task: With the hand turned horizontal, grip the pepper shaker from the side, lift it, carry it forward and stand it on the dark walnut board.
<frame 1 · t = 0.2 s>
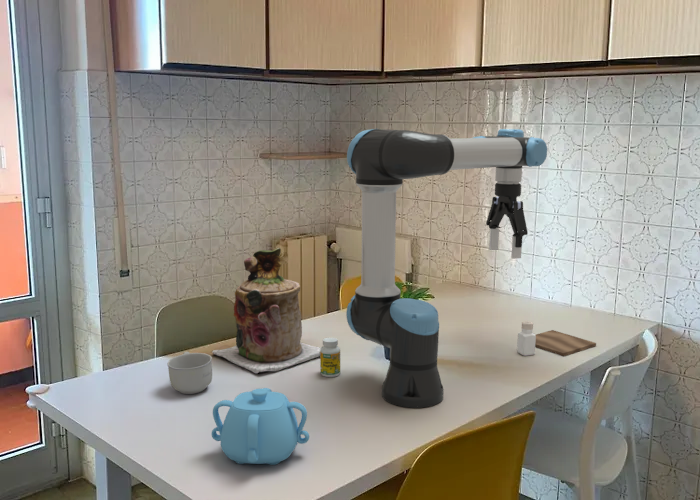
hand: (504, 253, 203), 28 cm above the table, tool pointing down, fingers open, 13 cm apart
cookie jar: (269, 356, 197), on the table
decorative pot: (260, 454, 139), on the table
supplement bottle: (330, 374, 183), on the table
board: (557, 344, 209), on the table
teacup: (191, 387, 173), on the table
pepper shaker: (525, 354, 200), on the table
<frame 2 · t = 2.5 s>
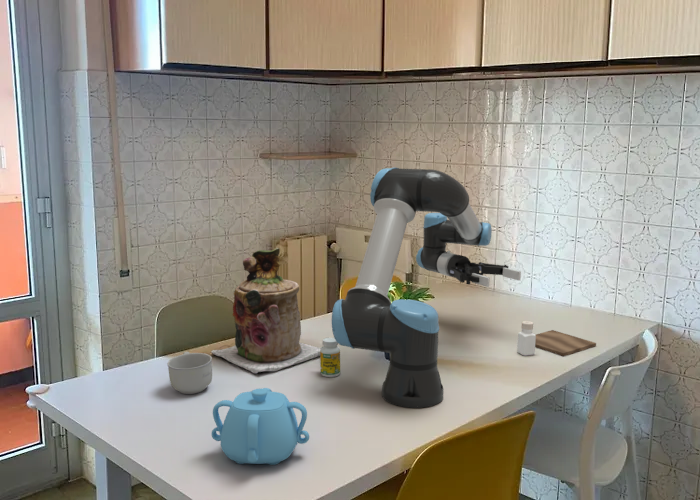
hand: (504, 279, 203), 21 cm above the table, tool horizontal, fingers open, 13 cm apart
nothing on the table moved.
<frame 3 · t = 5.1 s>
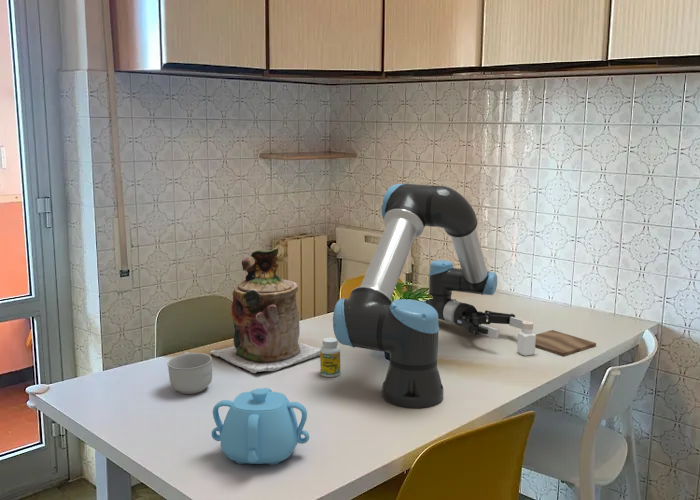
hand: (512, 330, 203), 6 cm above the table, tool horizontal, fingers open, 13 cm apart
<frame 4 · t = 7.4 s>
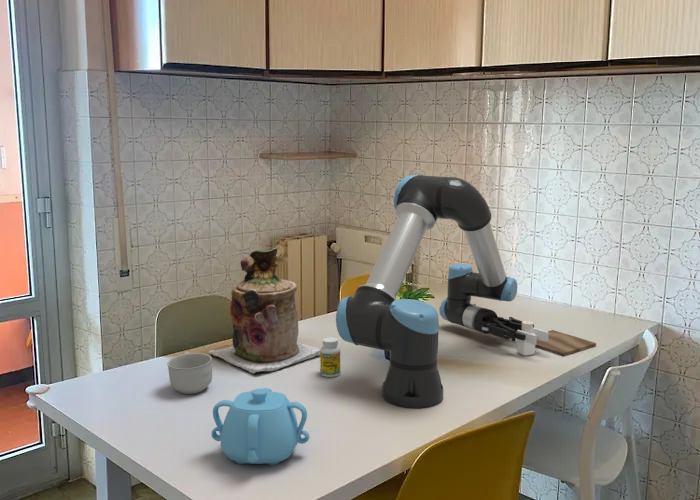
hand: (541, 338, 195), 6 cm above the table, tool horizontal, fingers closed on pepper shaker, 5 cm apart
pepper shaker: (525, 354, 200), on the table, touching gripper
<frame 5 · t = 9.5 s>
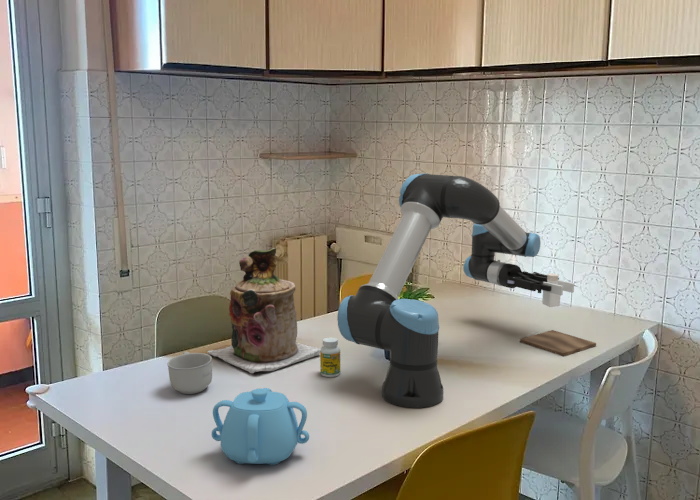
hand: (567, 289, 199), 19 cm above the table, tool horizontal, fingers closed on pepper shaker, 5 cm apart
pepper shaker: (550, 306, 204), point 13 cm above the table, touching gripper
when the fingers open (8 cm above the table, at t = 11.9 s): pepper shaker drops 1 cm, resting on board.
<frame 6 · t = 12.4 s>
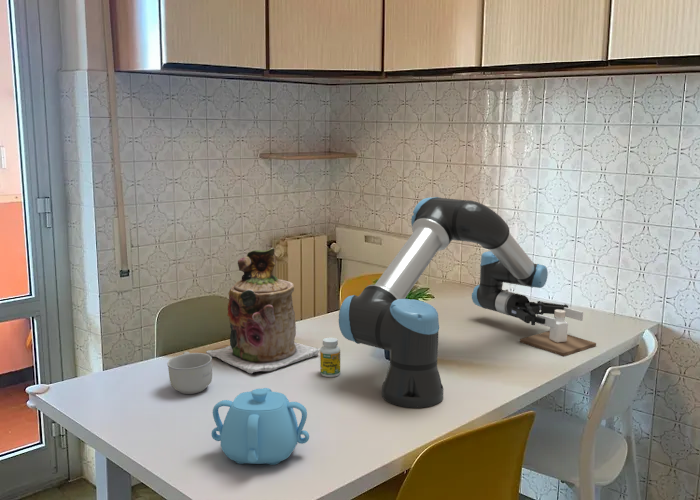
hand: (569, 320, 205), 8 cm above the table, tool horizontal, fingers open, 12 cm apart
pepper shaker: (557, 341, 209), point 1 cm above the table, touching board
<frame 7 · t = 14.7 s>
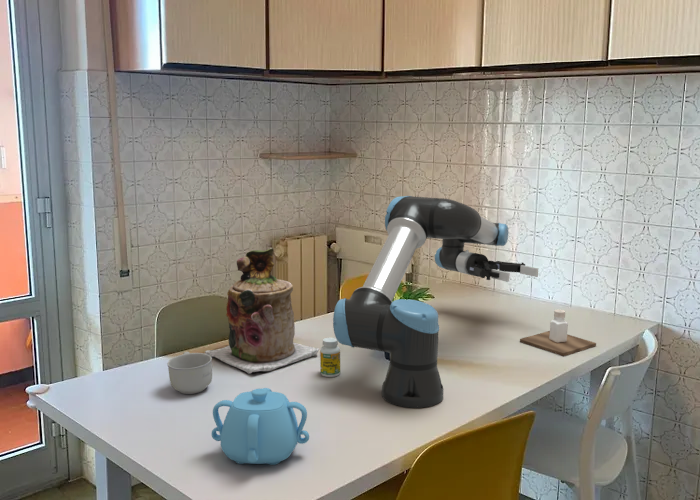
hand: (523, 275, 211), 20 cm above the table, tool horizontal, fingers open, 13 cm apart
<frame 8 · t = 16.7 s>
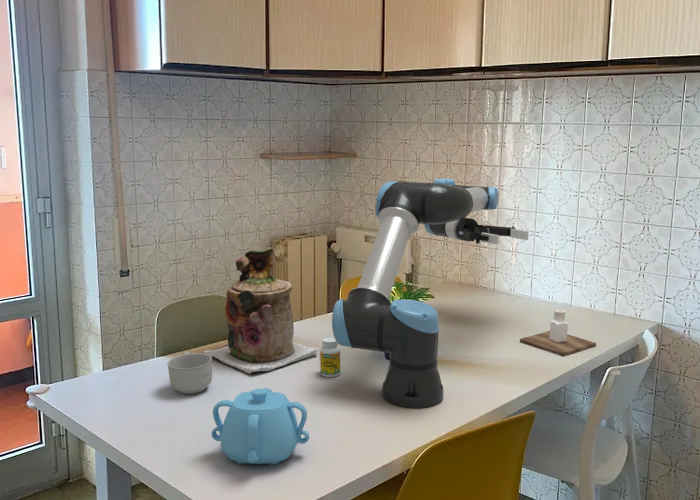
hand: (513, 237, 208), 32 cm above the table, tool horizontal, fingers open, 13 cm apart
at the end: pepper shaker inside the target area on the board (0.1 cm from its centre), point 0.8 cm above the board's base; pepper shaker tilted 0°; the gripper is holding nothing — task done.
